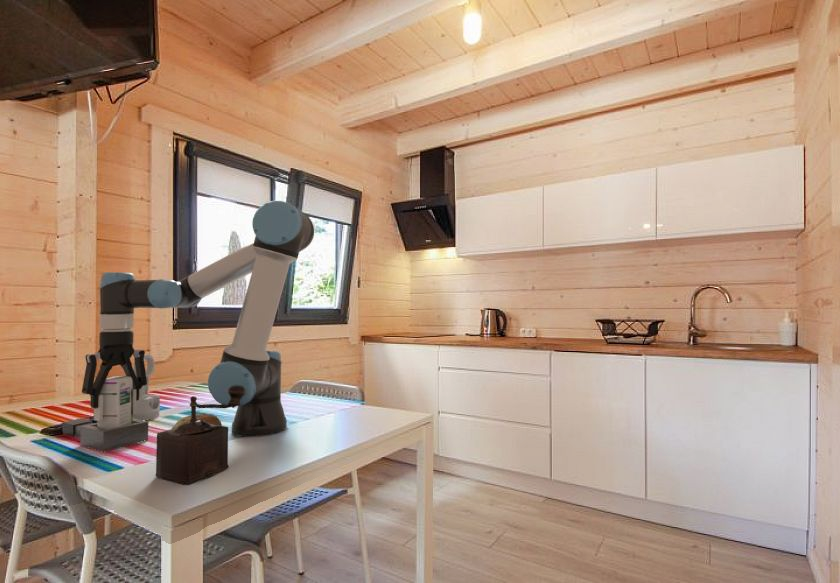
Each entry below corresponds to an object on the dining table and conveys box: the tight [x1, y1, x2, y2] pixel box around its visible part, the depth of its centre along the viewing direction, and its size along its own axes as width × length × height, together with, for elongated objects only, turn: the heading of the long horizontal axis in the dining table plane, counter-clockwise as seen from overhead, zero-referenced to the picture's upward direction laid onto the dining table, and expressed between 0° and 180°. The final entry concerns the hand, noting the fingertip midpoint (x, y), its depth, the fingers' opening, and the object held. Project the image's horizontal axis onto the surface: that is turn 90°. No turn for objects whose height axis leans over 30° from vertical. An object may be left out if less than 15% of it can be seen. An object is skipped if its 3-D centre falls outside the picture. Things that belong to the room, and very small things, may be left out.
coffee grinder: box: [155, 385, 246, 486], centre depth 99 cm, size 16×11×18 cm
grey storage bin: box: [61, 418, 149, 453], centre depth 122 cm, size 28×11×5 cm, turn 61°
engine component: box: [133, 353, 161, 421], centre depth 145 cm, size 11×20×10 cm
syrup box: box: [96, 375, 133, 429], centre depth 118 cm, size 6×6×14 cm
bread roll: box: [171, 413, 223, 429], centre depth 116 cm, size 10×15×8 cm, turn 156°
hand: (115, 416), depth 118 cm, fingers closed on syrup box, 7 cm apart
